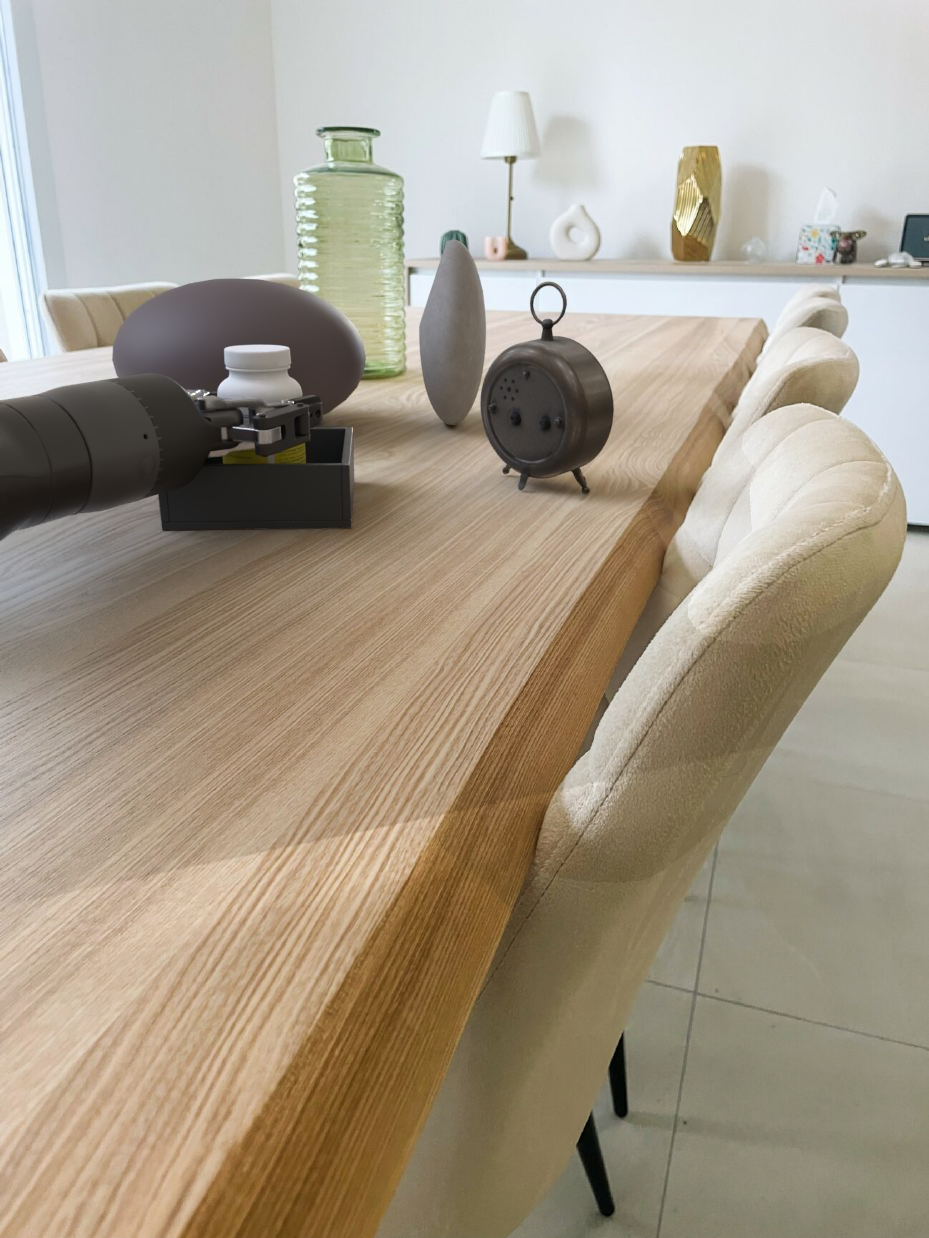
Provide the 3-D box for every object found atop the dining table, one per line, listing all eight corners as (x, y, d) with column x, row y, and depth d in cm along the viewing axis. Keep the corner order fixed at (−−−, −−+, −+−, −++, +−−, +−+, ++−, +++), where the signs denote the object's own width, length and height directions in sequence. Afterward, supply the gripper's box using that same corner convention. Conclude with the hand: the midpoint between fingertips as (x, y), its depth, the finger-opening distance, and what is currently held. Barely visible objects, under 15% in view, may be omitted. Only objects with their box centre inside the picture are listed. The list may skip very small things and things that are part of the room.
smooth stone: (355, 459, 86) (351, 288, 80) (84, 454, 86) (59, 282, 80) (376, 410, 109) (374, 275, 103) (162, 406, 108) (148, 270, 102)
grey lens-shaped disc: (421, 407, 111) (421, 238, 103) (480, 408, 111) (484, 239, 104) (416, 440, 94) (416, 240, 86) (486, 441, 94) (492, 241, 86)
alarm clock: (610, 493, 76) (627, 284, 70) (572, 506, 73) (586, 286, 66) (507, 470, 83) (514, 277, 77) (467, 480, 79) (471, 279, 73)
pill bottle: (298, 484, 75) (292, 342, 71) (315, 503, 70) (309, 351, 65) (220, 489, 73) (208, 343, 69) (231, 510, 67) (219, 353, 63)
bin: (161, 530, 65) (154, 465, 63) (194, 482, 77) (189, 427, 75) (351, 528, 66) (349, 465, 64) (354, 481, 78) (352, 427, 76)
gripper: (193, 391, 52) (359, 361, 66) (20, 371, 59) (205, 347, 72) (205, 519, 55) (361, 465, 69) (39, 487, 61) (213, 443, 75)
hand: (281, 405), depth 71 cm, fingers closed on pill bottle, 6 cm apart
